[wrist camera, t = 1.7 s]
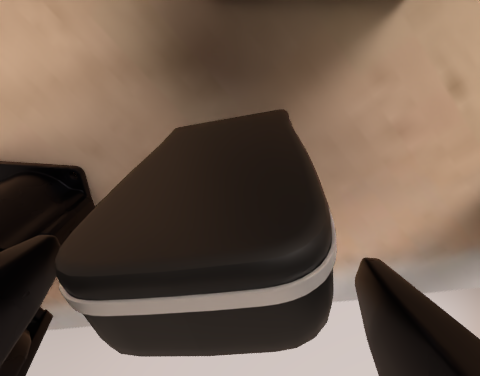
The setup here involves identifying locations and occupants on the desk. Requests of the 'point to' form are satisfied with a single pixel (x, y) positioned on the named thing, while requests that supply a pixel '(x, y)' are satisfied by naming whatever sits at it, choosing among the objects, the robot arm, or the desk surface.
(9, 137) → the desk surface
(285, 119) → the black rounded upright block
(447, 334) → the robot arm
